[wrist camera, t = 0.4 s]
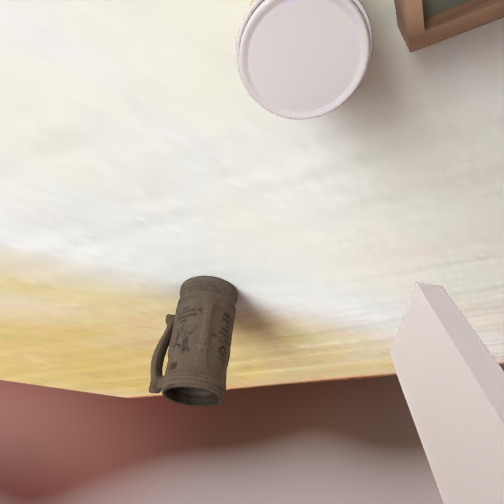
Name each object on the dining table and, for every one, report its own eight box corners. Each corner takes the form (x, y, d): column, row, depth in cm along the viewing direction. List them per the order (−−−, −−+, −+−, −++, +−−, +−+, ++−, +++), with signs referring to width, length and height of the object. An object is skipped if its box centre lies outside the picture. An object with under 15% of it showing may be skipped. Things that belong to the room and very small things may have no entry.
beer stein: (214, 266, 64) (188, 384, 52) (252, 296, 70) (237, 406, 58) (156, 289, 73) (122, 394, 61) (195, 313, 79) (171, 413, 67)
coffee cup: (376, -36, 31) (404, 19, 23) (320, 70, 38) (329, 139, 30) (271, -90, 29) (265, -50, 21) (233, 33, 36) (218, 97, 28)
